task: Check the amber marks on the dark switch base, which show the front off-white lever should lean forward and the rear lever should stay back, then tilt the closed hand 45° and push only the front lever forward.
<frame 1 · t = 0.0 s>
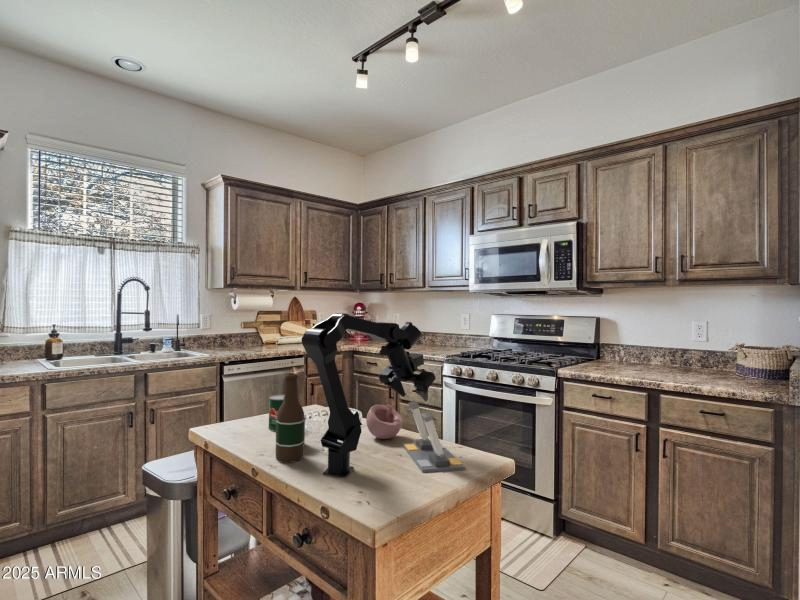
hand: (415, 398, 142), 15 cm above the worktop, tool tilted 35°, fingers open, 9 cm apart
teacup with lid: (287, 445, 140), on the worktop
switch base: (431, 457, 132), on the worktop
mortar and pestle: (384, 438, 149), on the worktop
canned tomato: (280, 428, 158), on the worktop
beer bottle: (289, 459, 128), on the worktop
lever rear: (419, 422, 138), point 8 cm above the worktop, hinge at -20.0°
lever front: (433, 435, 125), point 8 cm above the worktop, hinge at -20.0°
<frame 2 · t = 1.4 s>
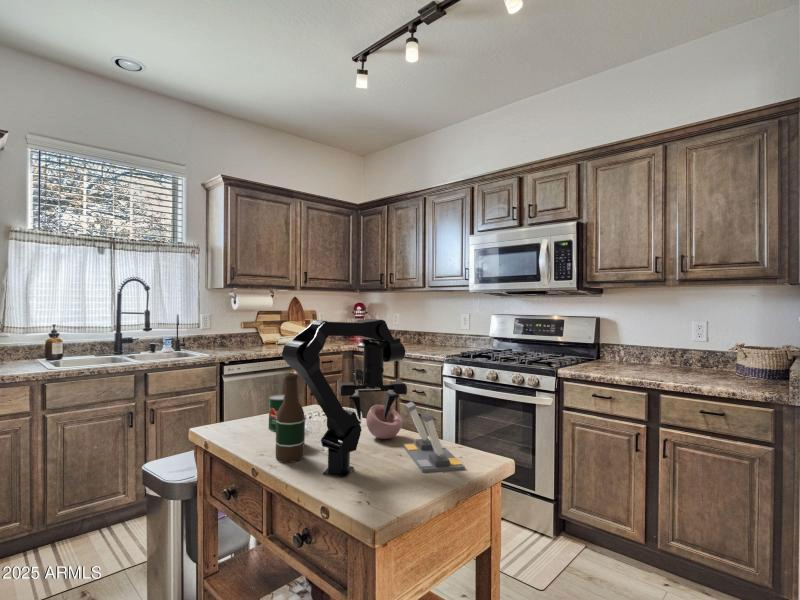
hand: (372, 418, 127), 12 cm above the worktop, tool pointing down, fingers open, 7 cm apart
lever rear: (417, 422, 138), point 8 cm above the worktop, hinge at -25.1°
everything else where it was.
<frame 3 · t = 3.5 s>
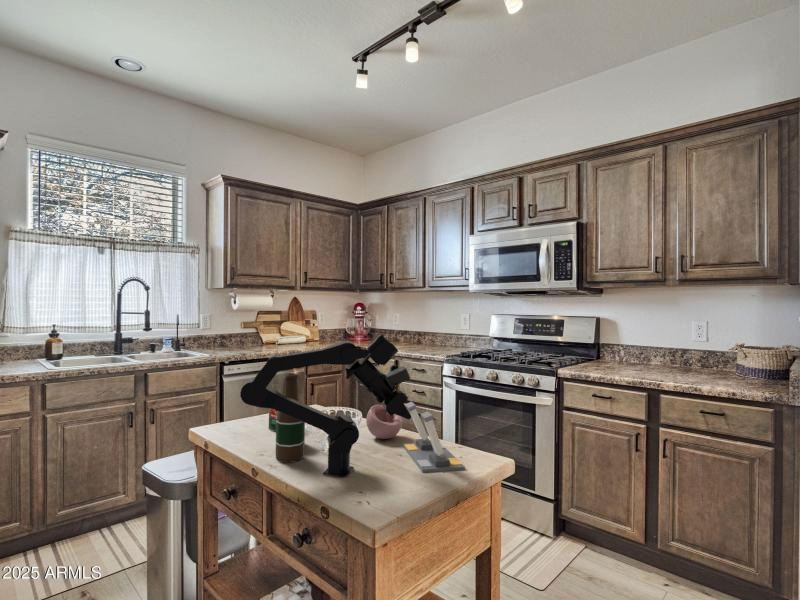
hand: (410, 418, 123), 14 cm above the worktop, tool tilted 45°, fingers closed
nothing on the worktop moved.
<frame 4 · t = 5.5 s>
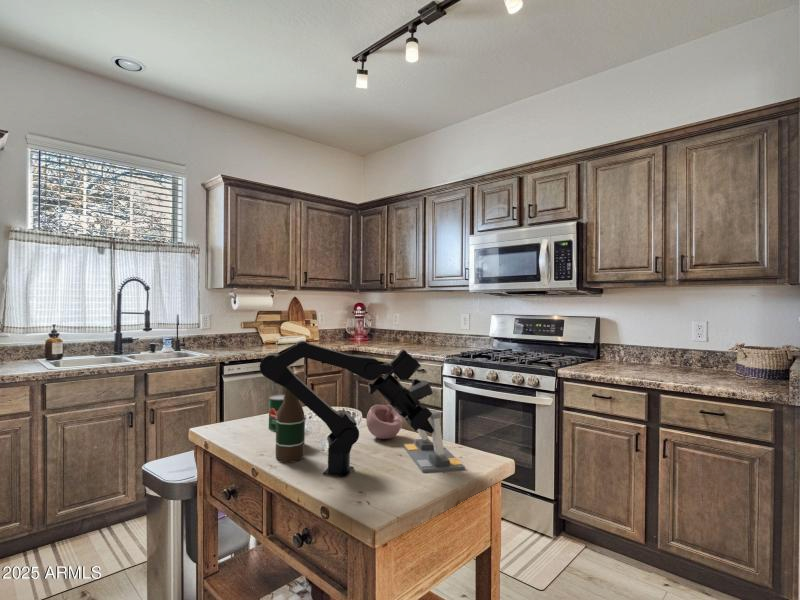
hand: (432, 431, 125), 9 cm above the worktop, tool tilted 45°, fingers closed, pressing on lever front
lever front: (436, 434, 125), point 9 cm above the worktop, hinge at -9.1°, touching gripper
everything else where it was.
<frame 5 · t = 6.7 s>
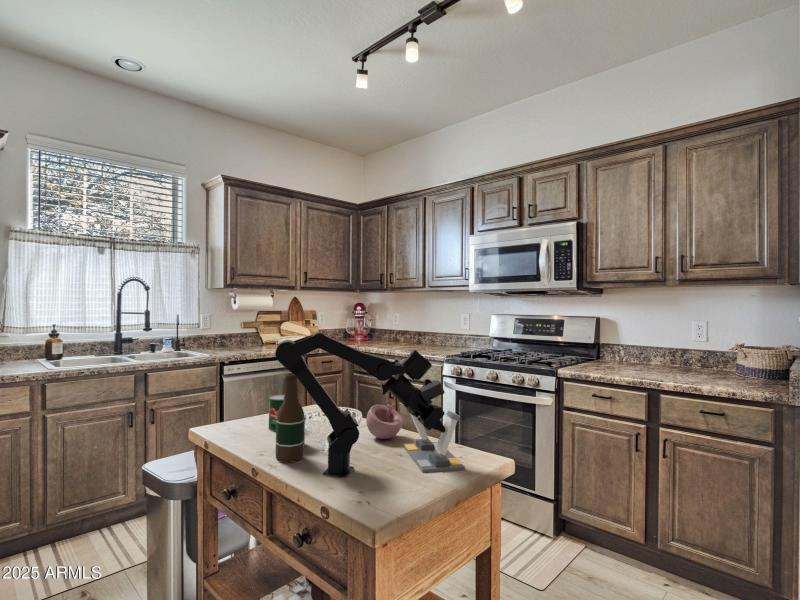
hand: (444, 431, 125), 10 cm above the worktop, tool tilted 45°, fingers closed, pressing on lever front
lever front: (446, 434, 125), point 8 cm above the worktop, hinge at 20.0°, touching gripper
everything else where it was.
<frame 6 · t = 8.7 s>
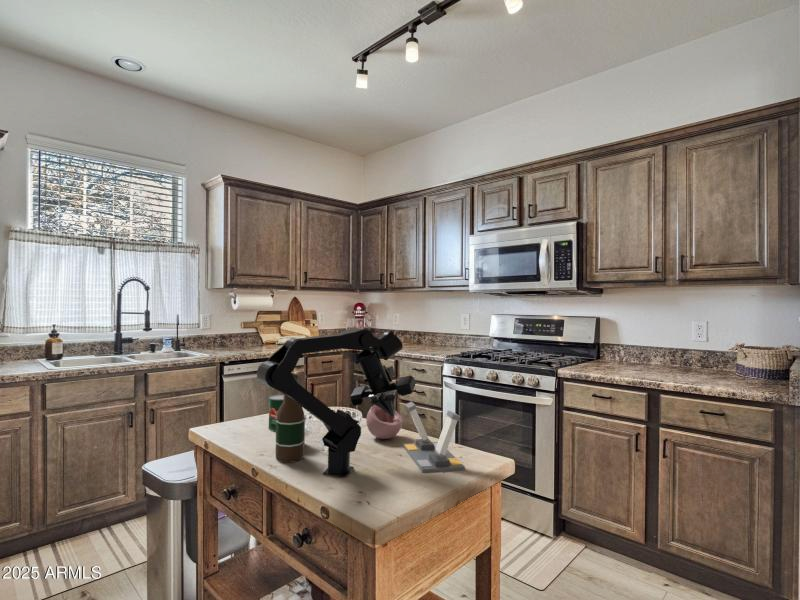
hand: (393, 415, 129), 13 cm above the worktop, tool tilted 30°, fingers closed
lever front: (446, 434, 125), point 8 cm above the worktop, hinge at 20.1°
everything else where it was.
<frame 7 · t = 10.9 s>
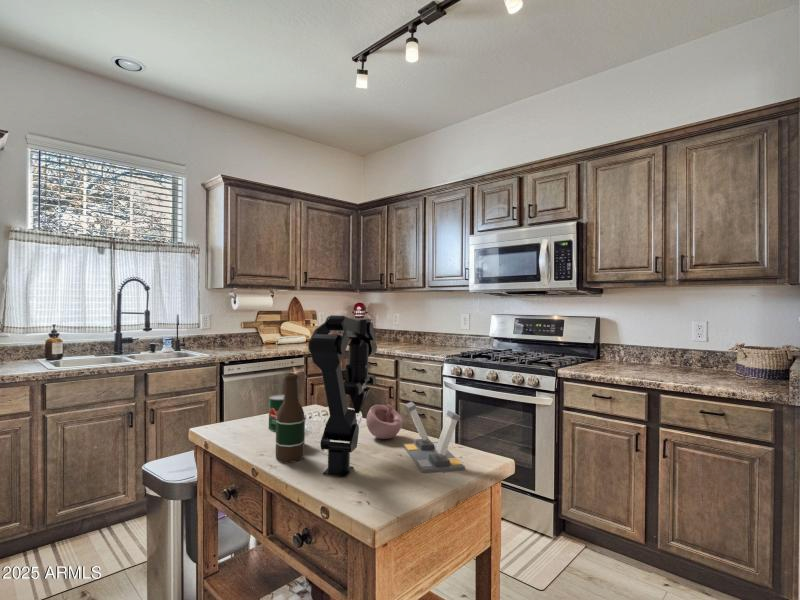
hand: (357, 413, 133), 12 cm above the worktop, tool pointing down, fingers closed
nothing on the worktop moved.
at the end: lever front at +20° (first picture: -20°); lever rear at -25° (first picture: -20°) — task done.
